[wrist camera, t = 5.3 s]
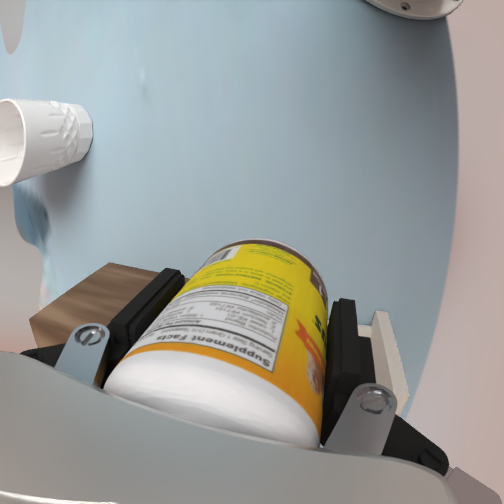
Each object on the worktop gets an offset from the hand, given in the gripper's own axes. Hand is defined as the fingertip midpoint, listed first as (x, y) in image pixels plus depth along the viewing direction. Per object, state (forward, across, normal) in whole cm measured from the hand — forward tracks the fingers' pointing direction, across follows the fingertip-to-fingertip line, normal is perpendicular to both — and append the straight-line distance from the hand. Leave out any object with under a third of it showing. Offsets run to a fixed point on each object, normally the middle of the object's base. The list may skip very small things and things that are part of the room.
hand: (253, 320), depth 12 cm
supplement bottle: (+2, 0, 0) cm, 2 cm away
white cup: (+17, +24, -6) cm, 30 cm away
